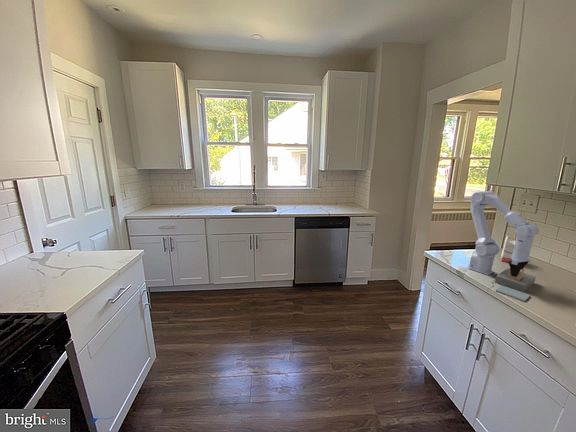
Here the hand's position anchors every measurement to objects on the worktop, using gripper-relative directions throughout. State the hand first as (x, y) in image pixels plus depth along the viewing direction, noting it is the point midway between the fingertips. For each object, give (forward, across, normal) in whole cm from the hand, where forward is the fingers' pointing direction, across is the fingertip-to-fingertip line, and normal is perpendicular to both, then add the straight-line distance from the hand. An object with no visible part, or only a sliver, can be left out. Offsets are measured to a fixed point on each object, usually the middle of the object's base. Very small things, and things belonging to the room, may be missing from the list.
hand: (515, 274), depth 119 cm
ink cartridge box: (+5, +34, +12) cm, 36 cm away
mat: (+5, -12, -3) cm, 13 cm away
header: (+5, +2, 0) cm, 5 cm away
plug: (+5, 0, 0) cm, 5 cm away
